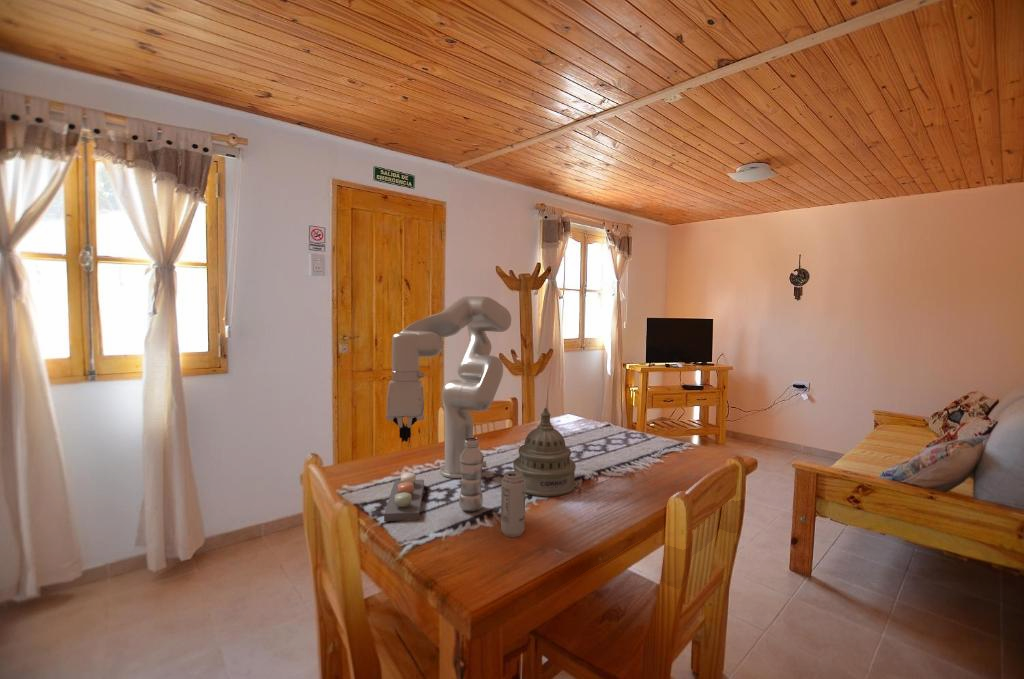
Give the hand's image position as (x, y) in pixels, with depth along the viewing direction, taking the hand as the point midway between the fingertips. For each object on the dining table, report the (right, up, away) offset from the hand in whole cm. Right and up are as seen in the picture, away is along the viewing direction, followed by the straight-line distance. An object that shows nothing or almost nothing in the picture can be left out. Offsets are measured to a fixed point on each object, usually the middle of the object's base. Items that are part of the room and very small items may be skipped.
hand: (405, 440), depth 132 cm
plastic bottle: (+19, -19, -2) cm, 27 cm away
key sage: (+1, -16, -6) cm, 17 cm away
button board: (0, -18, +2) cm, 18 cm away
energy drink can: (+31, -20, -15) cm, 40 cm away
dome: (+41, -18, +17) cm, 48 cm away
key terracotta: (0, -16, +1) cm, 16 cm away
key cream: (-1, -16, +9) cm, 18 cm away
